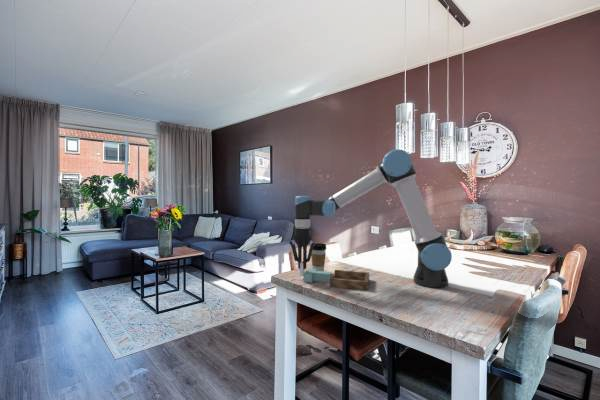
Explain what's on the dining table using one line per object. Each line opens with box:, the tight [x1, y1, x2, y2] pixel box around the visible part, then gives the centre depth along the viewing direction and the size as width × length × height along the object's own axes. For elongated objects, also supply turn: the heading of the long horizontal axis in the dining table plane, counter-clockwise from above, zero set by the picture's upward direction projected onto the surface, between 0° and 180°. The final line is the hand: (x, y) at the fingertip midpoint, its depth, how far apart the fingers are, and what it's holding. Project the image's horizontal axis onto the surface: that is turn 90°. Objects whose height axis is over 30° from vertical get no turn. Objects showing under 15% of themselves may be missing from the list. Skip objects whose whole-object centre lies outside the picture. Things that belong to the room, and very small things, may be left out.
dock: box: [329, 269, 370, 291], centre depth 143 cm, size 17×16×4 cm
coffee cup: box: [311, 242, 327, 271], centre depth 161 cm, size 8×8×15 cm
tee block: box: [303, 268, 332, 284], centre depth 147 cm, size 12×10×4 cm
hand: (302, 275), depth 149 cm, fingers closed
